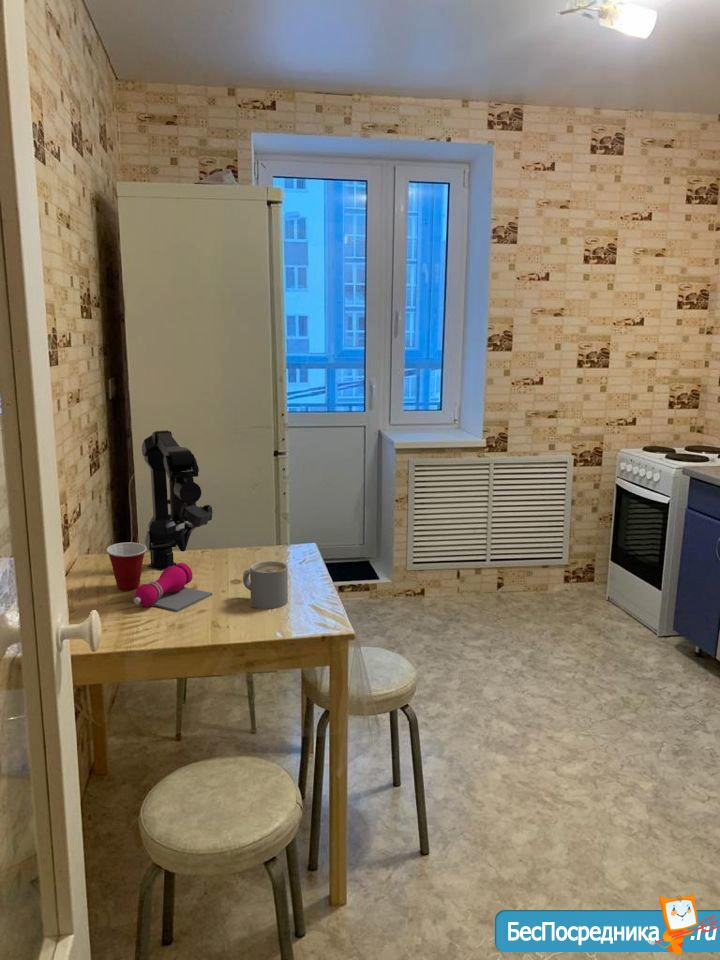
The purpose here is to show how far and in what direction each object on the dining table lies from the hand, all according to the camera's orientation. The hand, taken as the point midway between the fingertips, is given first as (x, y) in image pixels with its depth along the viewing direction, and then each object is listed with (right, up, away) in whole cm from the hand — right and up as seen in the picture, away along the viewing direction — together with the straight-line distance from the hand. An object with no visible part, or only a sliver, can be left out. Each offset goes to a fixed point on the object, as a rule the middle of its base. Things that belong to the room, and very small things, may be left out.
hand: (182, 551), depth 193 cm
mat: (-2, -13, -2) cm, 13 cm away
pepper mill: (-1, -7, +5) cm, 8 cm away
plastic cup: (-17, -11, +6) cm, 21 cm away
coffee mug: (+23, -13, -3) cm, 27 cm away
